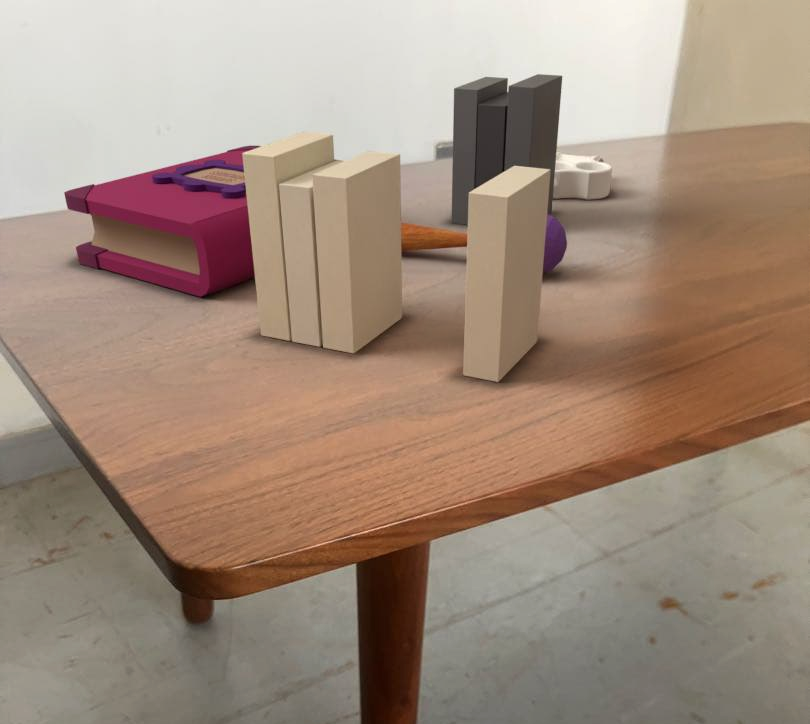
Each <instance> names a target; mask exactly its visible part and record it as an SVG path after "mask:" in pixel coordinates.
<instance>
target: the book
mask: <svg viewBox="0 0 810 724" xmlns="http://www.w3.org/2000/svg"><path fill="white" fill-rule="evenodd" d="M261 146H262V145H244V146H239V147H236V148H231V149H228V150H226V152H221V153H217V154H212V155H209V156H205V157H201V158H197V159H193V160H189V161H185V162H181V163H178V164H173V165H168V166H166V167H162V168H158V169H154V170H149V171H146V172H142V173H138V174H133V175H130V176H125V177H121V178H118V179H113V180H110V181H106V182H102V183H98V184H95V183H92V184H87V185H84V186H80V187H76V188H72V189H68V190H67V191H63V194H64V199H65V203H66V207H67V210H70V211H73V212H77V213H82V214H85V215H90V216H91V220H92V225H93V231H94V233H93V237H92V240H91V241H87V242H84V243H81V244H79V245H76V246H75V251H76V255H77V260H78V263H79V265H82V266H86V267H89V268H92V269H96V270H98V269H102V270H107V271H110V272H113V273H117V274H120V275H123V276H128V277H131V278H133V279H138V280H141V281H145V282H148V283H152V284H155V285H158V286H162V287H166V288H169V289H173V290H176V291H180V292H183V293H186V294H189V295H192V296H197V297H200V298H202V297H204V296H206V295H212V294H214V293H217V292H220V291H222V290H225V289H228V288H230V287H232V286H235V285H238V284H240V283H243V282H246V281H248V280H251V279H254V278H255V271H254V262H253V252H252V242H251V233H250V223H249V213H248V204H247V194H246V184H245V175H244V165H243V155H242V153H244V152H247V151H250V150H253V149H256V148H258V147H261ZM336 160H337V159H335V158H334V161H336ZM339 160H340V161H343V160H341V159H339Z"/></svg>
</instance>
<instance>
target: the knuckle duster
mask: <svg viewBox="0 0 810 724" xmlns="http://www.w3.org/2000/svg"><path fill="white" fill-rule="evenodd" d="M612 173H613V166H612V165H611V164H609V163H607V162H604V159H603V157H601V156H600V155H591V156H587V155H576V154H567V153H563V152H560V151H559V152H558V151H556V163H555V176H554V189H553V199H554V200H559V199H581V200H586V201H587V200H588V201H589V200H593V201H594V200H600V199H604V198H606V197H608V196H609V195H610V192H611V191H610V189H611V182H612Z"/></svg>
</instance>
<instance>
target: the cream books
mask: <svg viewBox="0 0 810 724" xmlns="http://www.w3.org/2000/svg"><path fill="white" fill-rule="evenodd" d="M260 146H261V147H258V148H256V149H253V150H250V151H247V152H244V153H242V155H243V165H244V175H245V184H246V194H247V204H248V213H249V223H250V233H251V242H252V252H253V262H254V271H255V277H254V280H255V289H256V298H257V309H258V318H259V319H258V320H259V327H260V328H259V329H260V335H261V336H262V337H267V338H273V339H277V340H283V341H288V342H290V341H291V342H292V343H298V344H302V345H303V344H304V345H308V346H312V347H317V348H321V347H323V348H324V349H329V350H334V351H339V352H343V353H348V354H356V352H358V351H359V350H361V349H362V348H363V347H365V346H366V345H367V344H369V343H370V342H371V341H373V340H374V339H376V338H377V337H379V335H381V334H383V333H384V332H385V331H386V330H388V329H389V328H391V327H392V326H393V325H395V324H396V323H398V322H399V321H400V320H401V319H402V318H403V290H402V289H403V284H402V283H403V281H402V279H403V277H402V276H403V274H402V273H403V272H402V251H401V223H402V195H401V194H402V193H401V191H402V189H401V187H402V186H401V181H402V179H401V154H400V153H393V152H385V151H384V152H383V151H372V150H368V151H365V152H363V153H361V154H358V155H355V156H352V157H351V158H349V159H346V160H342V161H340V160H341V159H335V150H334V149H335V147H334V146H335V145H334V135H333V134H331V133H330V134H329V133H318V132H309V131H308V132H307V131H302V132H298V133H296V134H293V135H290V136H288V137H284V138H282V139H279V140H276V141H273V142H270V143H268V144H267V143H266V144H265V145H260ZM334 159H335V160H336V161H334Z"/></svg>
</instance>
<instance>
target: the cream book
mask: <svg viewBox="0 0 810 724" xmlns="http://www.w3.org/2000/svg"><path fill="white" fill-rule="evenodd" d="M550 171H551V170H550V169H542V168H532V167H522V166H513V167H511V168H510V169H508V170H506V171H505V172H503V173H501V174H500V175H498V176H496V177H494V178H493V179H491V180H489V181H488V182H486V183H484V184H483V185H481V186H479V187H478V188H476V189H474V190H472V191H471V192H469V204H468V225H467V234H468V237H467V247H466V274H465V275H466V277H465V306H464V308H465V309H464V339H463V340H464V341H463V342H464V343H463V368H462V369H463V371H462V374H463V376H465V377H470V378H474V379H479V380H485V381H491V382H496V383H499V382H500V381H501V380H502V379H503V378H504V377H505V376H506V374H508V373H509V372H510V371H511V370H512V368H513V367H515V365H516V364H518V362H519V361H520V360H521V359H523V357H524V356H525V355H526V354H527V353H528V352H529V351H530V350H531V349H532V348H533V347H534V346H535V345H536V344H537V342H538V336H539V335H538V334H539V324H540V323H539V322H540V313H541V312H540V310H541V299H542V286H543V285H542V284H543V275H544V274H543V261H544V248H545V235H546V222H547V210H548V197H549V184H550Z"/></svg>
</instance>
